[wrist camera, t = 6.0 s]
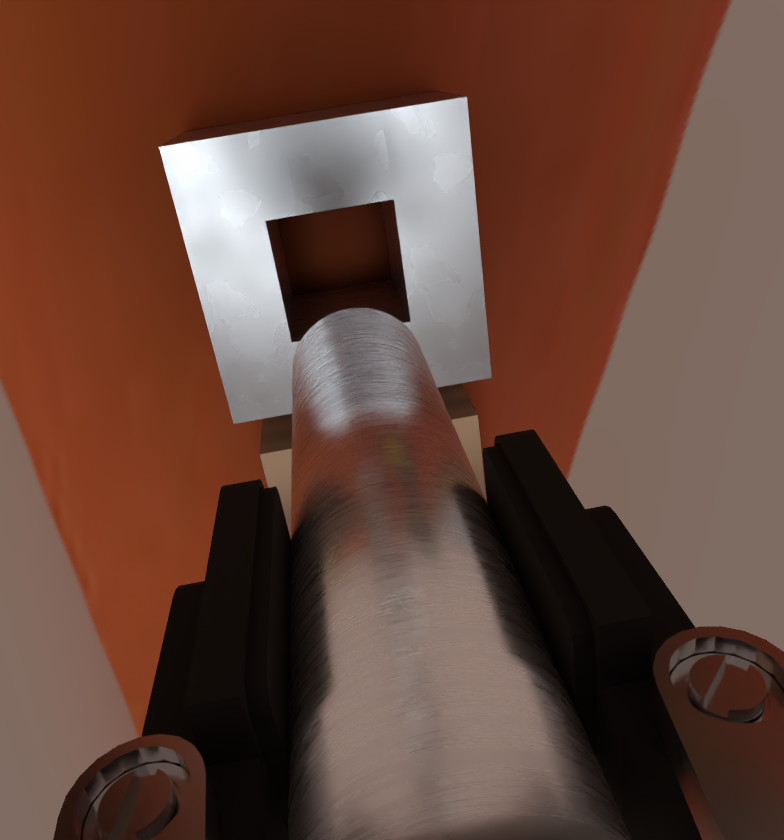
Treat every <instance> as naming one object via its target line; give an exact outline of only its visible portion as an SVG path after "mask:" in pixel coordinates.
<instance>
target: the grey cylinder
mask: <svg viewBox="0 0 784 840" xmlns="http://www.w3.org/2000/svg"><path fill="white" fill-rule="evenodd" d="M288 840H632V839H631V837H630V835H629V832H628V830H627V828H626V825H625V823H624V821H623V818H622V816H621V814H620V811H619V809H618V807H617V804H616V802H615V800H614V797H613V795H612V793H611V790H610V788H609V786H608V783H607V781H606V779H605V776H604V774H603V772H602V769H601V767H600V765H599V762H598V760H597V758H596V755H595V753H594V751H593V748H592V746H591V744H590V742H589V739H588V737H587V735H586V732H585V730H584V728H583V725H582V723H581V721H580V718H579V716H578V714H577V712H576V710H575V707H574V705H573V703H572V700H571V698H570V696H569V693H568V691H567V689H566V686H565V684H564V682H563V679H562V677H561V675H560V672H559V670H558V668H557V665H556V663H555V661H554V658H553V656H552V654H551V651H550V649H549V647H548V644H547V642H546V640H545V637H544V635H543V633H542V630H541V628H540V626H539V623H538V621H537V619H536V616H535V614H534V612H533V609H532V607H531V605H530V602H529V600H528V598H527V595H526V593H525V591H524V588H523V586H522V584H521V581H520V579H519V577H518V574H517V572H516V570H515V567H514V565H513V563H512V560H511V558H510V556H509V553H508V551H507V549H506V546H505V544H504V542H503V539H502V537H501V535H500V532H499V530H498V528H497V525H496V523H495V521H494V518H493V516H492V514H491V511H490V509H489V507H488V504H487V502H486V499H485V497H484V495H483V492H482V490H481V488H480V485H479V483H478V481H477V478H476V476H475V474H474V471H473V469H472V467H471V464H470V462H469V460H468V457H467V455H466V453H465V450H464V448H463V446H462V443H461V441H460V439H459V436H458V434H457V432H456V429H455V427H454V425H453V422H452V420H451V418H450V415H449V413H448V411H447V409H446V406H445V404H444V402H443V399H442V397H441V395H440V392H439V390H438V388H437V385H436V383H435V381H434V378H433V376H432V374H431V371H430V369H429V367H428V364H427V362H426V360H425V357H424V355H423V353H422V350H421V348H420V346H419V343H418V342H417V340H416V338H415V336H414V335H413V333H412V332H411V331H410V330H409V329H408V328H407V326H406V325H405V324H403V323H402V322H401V321H400V320H398V319H397V318H395V317H393V316H392V315H390V314H387V313H385V312H382V311H379V310H375V309H369V308H350V309H345V310H340V311H337V312H335V313H332V314H330V315H328V316H326V317H324V318H322V319H321V320H319V321H318V322H317V323H315V324H314V325H313V326H312V327H311V328H310V329H309V330H308V331H307V332H306V334H305V335H304V336H303V338H302V339H301V341H300V343H299V345H298V347H297V349H296V352H295V355H294V359H293V366H292V471H291V619H290V738H289V798H288Z"/></svg>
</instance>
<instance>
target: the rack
mask: <svg viewBox="0 0 784 840" xmlns="http://www.w3.org/2000/svg"><path fill="white" fill-rule="evenodd" d="M437 388H438V390H439V392H440V395H441V397H442V399H443V402H444V404H445V406H446V409H447V411H448V413H449V415H450V418H451V420H452V422H453V425H454V427H455V429H456V432H457V434H458V436H459V439H460V441H461V443H462V446H463V448H464V450H465V453H466V455H467V457H468V460H469V462H470V464H471V467H472V469H473V471H474V474H475V476H476V478H477V481H478V483H479V485H480V488H481V490H482V492H483V495H484V497H485V499H486V492H485V482H484V472H483V462H482V452H481V442H480V432H479V422H478V414H477V413H476V411H475V409H474V407H473V405H472V403H471V401H470V399H469V397H468V395H467V393H466V391H465V389H464V387H463V385H462V383H460V384H454V385H449V386H443V387H437ZM260 457H261V461H262V465H263V469H264V472H265V476H266V480H267V484H268V488H270V487H277V489H278V491H279V495H280V499H281V503H282V507H283V511H284V514H285V518H286V522H287V526H288V530H289V534H290V538H291V471H292V414H286V415H281V416H275V417H270V418H264V419H263V428H262V438H261V448H260Z"/></svg>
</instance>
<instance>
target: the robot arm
mask: <svg viewBox="0 0 784 840" xmlns="http://www.w3.org/2000/svg"><path fill="white" fill-rule="evenodd" d="M494 445H495V446H493V447H488V448H484V449H483V463H484V473H485V484H486V494H487V504H488V507H489V509H490V511H491V514H492V516H493V518H494V521H495V523H496V525H497V528H498V530H499V532H500V535H501V537H502V539H503V542H504V544H505V546H506V549H507V551H508V553H509V556H510V558H511V560H512V563H513V565H514V567H515V570H516V572H517V574H518V577H519V579H520V581H521V584H522V586H523V588H524V591H525V593H526V595H527V598H528V600H529V602H530V605H531V607H532V609H533V612H534V614H535V616H536V619H537V621H538V623H539V626H540V628H541V630H542V633H543V635H544V637H545V640H546V642H547V644H548V647H549V649H550V651H551V654H552V656H553V658H554V661H555V663H556V665H557V668H558V670H559V672H560V675H561V677H562V679H563V682H564V684H565V686H566V689H567V691H568V693H569V696H570V698H571V700H572V703H573V705H574V707H575V710H576V712H577V714H578V716H579V718H580V721H581V723H582V725H583V728H584V730H585V732H586V735H587V737H588V739H589V742H590V744H591V746H592V748H593V751H594V753H595V755H596V758H597V760H598V762H599V765H600V767H601V769H602V772H603V774H604V776H605V779H606V781H607V783H608V786H609V788H610V790H611V793H612V795H613V797H614V800H615V802H616V804H617V807H618V809H619V811H620V814H621V816H622V818H623V821H624V823H625V825H626V828H627V830H628V832H629V835H630V837H631V839H632V840H784V652H783V651H782V650H780V649H779V648H777V647H776V646H774V645H773V644H771V643H770V642H768V641H767V640H765V639H762V638H760V637H758V636H755V635H753V634H750V633H748V632H745V631H741V630H736V629H731V628H726V627H697V628H695V626H694V625H693V624H692V622H691V621H690V619H689V618H688V616H687V615H686V614H685V612H684V610H683V609H682V608H681V606H680V605H679V604H678V602H677V601H676V599H675V598H674V596H673V595H672V593H671V592H670V590H669V589H668V588H667V586H666V585H665V583H664V582H663V580H662V579H661V578H660V576H659V575H658V574H657V572H656V570H655V569H654V568H653V566H652V565H651V564H650V562H649V560H648V559H647V558H646V556H645V555H644V553H643V552H642V550H641V549H640V548H639V546H638V545H637V543H636V542H635V540H634V539H633V538H632V536H631V535H630V533H629V532H628V530H627V529H626V528H625V526H624V525H623V523H622V522H621V520H620V519H619V517H618V516H617V515H616V513H615V512H614V511H613V510H612V509H611V508H610V507H608V506H600V507H595V508H590V509H584V507H583V506H582V504H581V502H580V501H579V499H578V498H577V496H576V495H575V493H574V491H573V490H572V488H571V487H570V485H569V483H568V482H567V480H566V479H565V477H564V476H563V474H562V472H561V471H560V469H559V468H558V466H557V465H556V463H555V461H554V460H553V458H552V457H551V455H550V454H549V452H548V451H547V449H546V447H545V446H544V444H543V443H542V441H541V440H540V438H539V436H538V435H537V433H536V432H535V431H534V430H526V431H521V432H515V433H510V434H504V435H499V436H496V437H495V443H494ZM290 619H291V538H290V534H289V530H288V526H287V522H286V518H285V514H284V511H283V507H282V503H281V499H280V495H279V491H278V489H277V487H270V488H265V489H264V486H263V484H262V481H261V480H260V479H259V480H254V481H248V482H243V483H237V484H232V485H226V486H222V487H221V490H220V495H219V501H218V507H217V513H216V518H215V524H214V530H213V536H212V542H211V548H210V553H209V559H208V565H207V571H206V577H205V581H203V582H197V583H192V584H187V585H181V586H179V587H178V588H177V589H176V590H175V593H174V596H173V599H172V604H171V608H170V613H169V617H168V622H167V626H166V630H165V635H164V639H163V644H162V648H161V653H160V657H159V662H158V666H157V670H156V675H155V679H154V684H153V688H152V693H151V697H150V701H149V706H148V710H147V715H146V719H145V724H144V728H143V732H142V737H138V738H136V739H133V740H131V741H128V742H126V743H123V744H121V745H118V746H116V747H115V748H113V749H112V750H110V751H109V752H107V753H106V754H104V755H103V756H101V757H99V758H98V759H97V760H96V761H95V762H94V763H93V764H91V766H89V767H88V768H87V769H86V770H85V771H84V772H83V773H82V774H81V775H80V776H79V778H78V779H77V780H76V782H75V784H74V785H73V786H72V788H71V789H70V791H69V792H68V794H67V795H66V797H65V799H64V803H63V805H62V808H61V810H60V813H59V816H58V819H57V824H56V829H55V833H54V838H53V840H288V798H289V738H290Z"/></svg>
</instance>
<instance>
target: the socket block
mask: <svg viewBox="0 0 784 840" xmlns="http://www.w3.org/2000/svg"><path fill="white" fill-rule="evenodd" d="M159 150H160V153H161V157H162V161H163V164H164V168H165V172H166V175H167V179H168V183H169V186H170V190H171V194H172V198H173V201H174V205H175V209H176V212H177V216H178V220H179V223H180V227H181V231H182V234H183V238H184V242H185V246H186V249H187V253H188V257H189V260H190V264H191V268H192V271H193V275H194V279H195V282H196V286H197V290H198V294H199V297H200V301H201V305H202V308H203V312H204V316H205V319H206V323H207V327H208V330H209V334H210V338H211V342H212V345H213V349H214V353H215V356H216V360H217V364H218V367H219V371H220V375H221V378H222V382H223V386H224V390H225V393H226V397H227V401H228V404H229V408H230V412H231V415H232V419H233V423H234V424H236V423H242V422H247V421H253V420H259V419H264V418H270V417H275V416H281V415H286V414H292V366H293V359H294V355H295V352H296V349H297V347H298V345H299V343H300V341H301V339H302V338H303V336H304V335H305V334H306V332H307V331H308V330H309V329H310V328H311V327H312V326H313V325H314V324H315V323H317V322H318V321H319V320H321V319H322V318H324V317H326V316H328V315H330V314H332V313H335V312H337V311H340V310H345V309H350V308H369V309H375V310H379V311H382V312H385V313H387V314H390V315H392V316H393V317H395V318H397V319H398V320H400V321H401V322H402V323H403V324H405V325H406V326H407V328H408V329H409V330H410V331H411V332H412V333H413V335H414V336H415V338H416V340H417V342H418V343H419V346H420V348H421V350H422V353H423V355H424V357H425V360H426V362H427V364H428V367H429V369H430V371H431V374H432V376H433V378H434V381H435V383H436V385H437V387H443V386H449V385H454V384H460V383H465V382H471V381H476V380H482V379H488V378H492V377H491V365H490V354H489V342H488V331H487V320H486V308H485V297H484V286H483V274H482V263H481V251H480V240H479V229H478V217H477V206H476V195H475V183H474V172H473V160H472V149H471V138H470V126H469V115H468V104H467V97H466V96H461V95H455V94H450V93H444V92H439V91H432V92H426V93H419V94H413V95H407V96H401V97H395V98H389V99H383V100H376V101H370V102H364V103H358V104H352V105H346V106H339V107H333V108H327V109H321V110H315V111H309V112H303V113H296V114H290V115H284V116H278V117H272V118H266V119H259V120H253V121H247V122H241V123H235V124H229V125H223V126H216V127H210V128H204V129H198V130H192V131H186V132H184V133H182V134H180V135H178V136H177V137H175V138H173V139H172V140H170V141H168V142H166V143H165V144H163V145H161V146H160V147H159ZM380 201H381V207H382V214H383V221H384V228H385V235H386V241H387V248H388V255H389V262H390V269H391V276H392V279H388V280H382V281H376V282H370V283H364V284H359V285H353V286H347V287H341V288H335V289H330V290H324V291H318V292H312V293H307V294H301V295H295V296H293V294H292V289H291V284H290V279H289V275H288V270H287V265H286V260H285V256H284V251H283V246H282V241H281V237H280V232H279V227H278V222H277V219H279V218H285V217H291V216H297V215H303V214H309V213H315V212H321V211H327V210H333V209H339V208H345V207H351V206H356V205H362V204H368V203H374V202H380Z"/></svg>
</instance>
